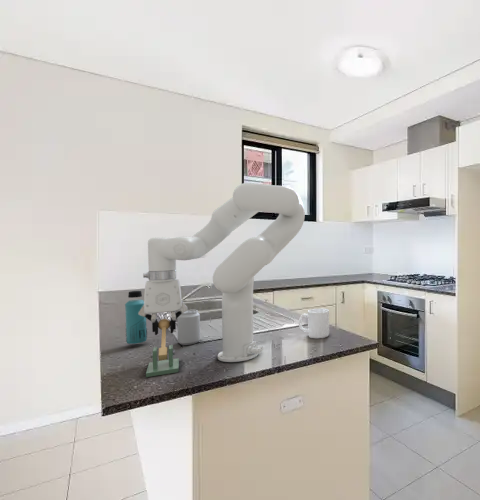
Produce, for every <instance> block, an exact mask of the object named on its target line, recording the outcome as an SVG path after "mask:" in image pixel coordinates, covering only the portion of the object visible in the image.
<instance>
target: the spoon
mask: <svg viewBox="0 0 480 500" xmlns="http://www.w3.org/2000/svg"><path fill="white" fill-rule="evenodd" d="M168 329H170V320H169V319H168V318H161V319H160V320H158V330H161V338H160V339H161V342H160V343H161V344H160V347H159V348H158V361H163V360H168V359H169V349H168V346H167V330H168Z"/></svg>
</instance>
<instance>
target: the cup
mask: <svg viewBox="0 0 480 500" xmlns="http://www.w3.org/2000/svg"><path fill="white" fill-rule="evenodd" d="M303 318H307V328H304V327H303V323H302V321H303ZM298 328H299V329H300V331H302V332H304V333H307V336H308V337H309V338H311V339H324V338H328V337H329V335H330V309H329V308H312V309H308V310H307V313H302V314H300V316H299V318H298Z"/></svg>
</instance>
